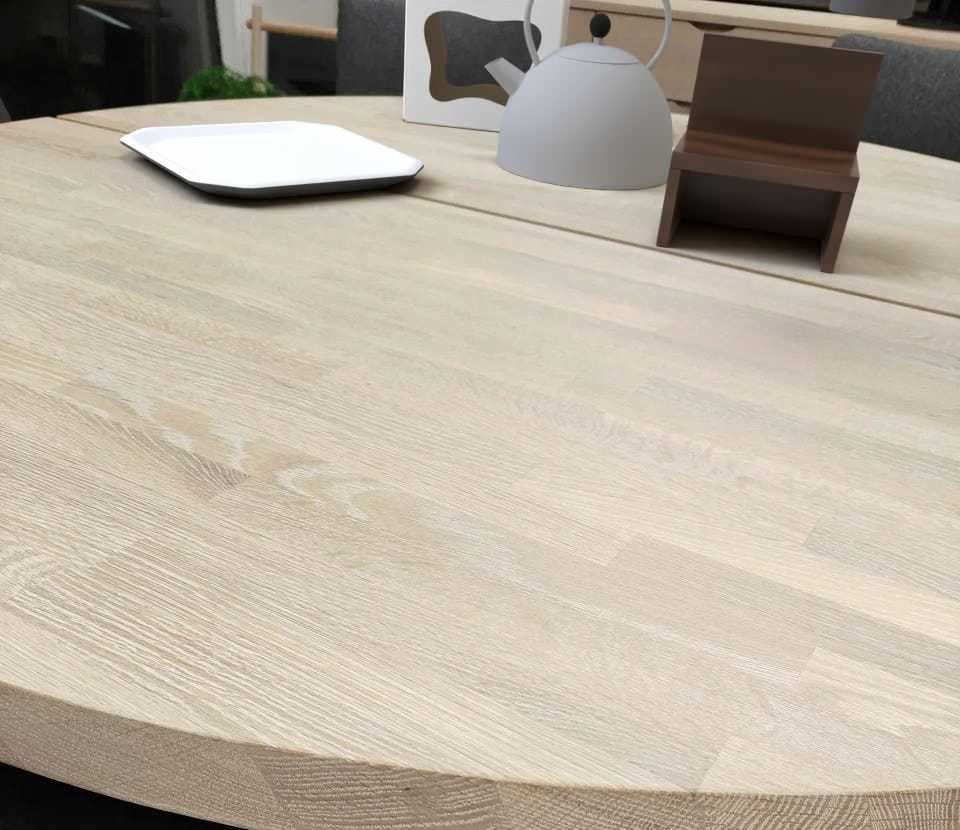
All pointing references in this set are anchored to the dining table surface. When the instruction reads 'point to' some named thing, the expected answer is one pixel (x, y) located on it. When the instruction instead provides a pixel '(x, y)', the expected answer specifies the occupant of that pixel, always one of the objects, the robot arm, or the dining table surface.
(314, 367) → the dining table surface
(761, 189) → the brown wooden stand
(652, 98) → the kettle
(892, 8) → the bottle
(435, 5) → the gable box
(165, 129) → the plate
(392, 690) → the dining table surface
